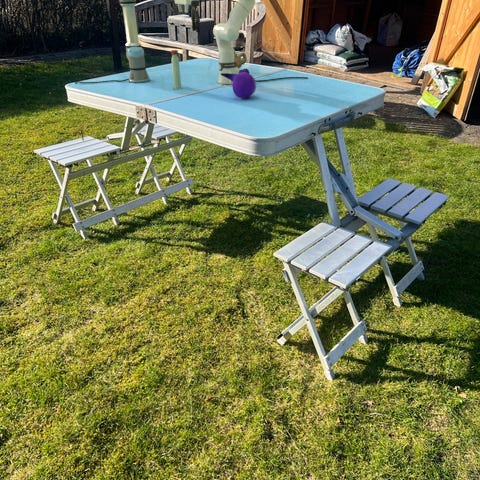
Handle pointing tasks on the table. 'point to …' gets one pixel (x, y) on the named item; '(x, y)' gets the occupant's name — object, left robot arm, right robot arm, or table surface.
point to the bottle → (176, 72)
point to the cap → (174, 52)
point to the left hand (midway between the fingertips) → (196, 31)
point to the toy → (242, 83)
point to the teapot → (237, 59)
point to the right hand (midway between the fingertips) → (183, 12)
